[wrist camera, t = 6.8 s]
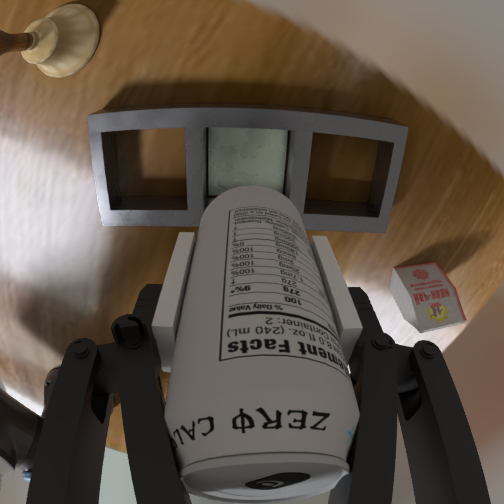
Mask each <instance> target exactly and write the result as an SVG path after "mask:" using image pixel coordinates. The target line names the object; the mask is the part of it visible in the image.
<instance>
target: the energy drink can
mask: <svg viewBox="0 0 504 504" xmlns="http://www.w3.org/2000/svg"><path fill="white" fill-rule="evenodd" d="M359 416H360V412H359V409H358V405H357V401H356V397H355V393H354V389H353V386H352V382H351V378H350V374H349V371H348V367H347V363H346V360H345V356H344V353H343V349H342V346H341V342H340V339H339V335H338V332H337V329H336V325H335V322H334V318H333V315H332V312H331V309H330V305H329V302H328V299H327V295H326V292H325V289H324V286H323V283H322V280H321V276H320V273H319V270H318V267H317V264H316V261H315V258H314V255H313V252H312V249H311V246H310V243H309V240H308V237H307V234H306V231H305V228H304V225H303V222H302V219H301V216H300V214H299V212H298V210H297V208H296V207H295V205H294V204H293V203H292V202H291V201H290V200H289V199H288V198H287V197H286V196H284V195H283V194H282V193H280V192H278V191H276V190H274V189H271V188H268V187H264V186H257V185H247V186H239V187H236V188H233V189H229V190H228V191H226V192H224V193H222V194H220V195H219V196H218V197H216V198H215V199H214V200H213V201H212V202H211V203H210V204H209V206H208V207H207V208H206V210H205V212H204V214H203V216H202V219H201V223H200V227H199V232H198V236H197V240H196V245H195V249H194V254H193V258H192V263H191V268H190V272H189V277H188V282H187V287H186V292H185V296H184V301H183V306H182V311H181V317H180V322H179V327H178V332H177V338H176V343H175V349H174V354H173V360H172V366H171V372H170V378H169V384H168V390H167V396H166V402H165V409H164V419H165V424H166V427H167V431H168V435H169V438H170V442H171V445H172V448H173V452H174V455H175V458H176V461H177V464H178V466H179V469H180V472H179V478H180V480H182V482H183V484H184V486H185V488H186V490H187V492H188V493H190V494H193V495H196V496H198V497H202V498H206V499H210V500H215V501H221V502H230V503H243V504H263V503H277V502H284V501H292V500H297V499H303V498H307V497H311V496H315V495H318V494H321V493H324V492H327V491H329V490H331V489H333V488H334V487H335V486H336V484H337V483H338V481H339V480H340V479H341V478H342V477H343V476H344V475H346V474H349V473H350V468H349V465H348V464H347V459H348V455H349V452H350V450H351V447H352V443H353V440H354V436H355V433H356V429H357V425H358V421H359Z"/></svg>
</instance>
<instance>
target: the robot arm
mask: <svg viewBox="0 0 504 504" xmlns="http://www.w3.org/2000/svg"><path fill="white" fill-rule="evenodd" d="M194 249H195V238H194V232H179V235H178V238H177V242H176V245H175V248H174V251H173V254H172V257H171V260H170V264H169V267H168V270H167V274H166V277H165V280H164V284H147V285H146V286H145V287H144V288H143V289H142V290H141V291H140V293H139V296H138V299H137V302H136V305H135V307H134V310H133V313H132V314H126V315H123V316H120V317H119V318H117V319H116V320H115V321H114V322H113V324H112V327H111V331H112V334H113V337H114V339H115V342H113V343H110V344H104V345H98V346H96V344H95V342H94V341H92V340H91V339H87V338H82V339H78V340H75V341H73V342H72V343H71V344H70V345H69V346H68V348H67V350H66V353H65V355H64V358H63V361H62V364H61V367H60V369H53V370H51V371H50V372H49V373H48V375H47V378H46V380H45V384H44V409H43V412H42V415H41V416H39V415H37V414H36V413H34V412H33V411H31V410H30V409H28V408H27V407H25V406H24V405H23V404H21V403H20V402H18V401H17V400H15V399H14V398H13V397H11V396H10V395H9V394H7V393H6V392H4V391H3V390H2V388H0V489H1V485H2V481H3V477H5V476H7V475H10V474H13V473H14V470H15V466H16V467H17V468H19V469H21V470H23V472H22V475H23V479H24V480H26V481H28V482H30V484H29V489H28V495H27V501H26V504H98V503H99V491H100V483H101V474H102V466H103V458H104V452H105V445H106V438H107V432H108V426H109V420H110V416H111V414H112V412H113V408H114V404H115V400H114V393H115V392H120V401H121V410H122V419H123V426H124V434H125V441H126V447H127V454H128V459H129V465H130V471H131V476H132V481H133V486H134V491H135V496H136V501H137V504H192V503H191V500H190V496H189V493H188V492H187V490H186V488H185V486H184V484H183V482H182V480H180V478H179V472H180V469H179V466H178V464H177V461H176V458H175V455H174V452H173V448H172V445H171V442H170V438H169V435H168V431H167V427H166V424H165V419H164V409H165V398H164V393H163V388H162V383H161V378H160V375H159V372H160V367H162V371H163V372H171V366H172V360H173V354H174V349H175V343H176V338H177V332H178V327H179V322H180V317H181V311H182V306H183V301H184V296H185V292H186V287H187V282H188V277H189V272H190V268H191V263H192V258H193V254H194ZM311 249H312V252H313V255H314V258H315V261H316V264H317V267H318V270H319V273H320V276H321V280H322V283H323V286H324V289H325V292H326V295H327V299H328V302H329V305H330V309H331V312H332V315H333V318H334V322H335V325H336V329H337V332H338V335H339V339H340V342H341V346H342V349H343V353H344V356H345V360H346V363H347V366H348V364H349V368H350V372H351V373H350V378H351V382H352V386H353V389H354V393H355V397H356V401H357V405H358V409H359V412H360V416H359V421H358V425H357V429H356V433H355V436H354V440H353V443H352V447H351V450H350V452H349V455H348V459H347V464H348V465H349V468H350V473H349V474H346V475H344V476H343V477H342V478H341V479H340V480H339V481H338V483H337V484H336V486H335V487H334V488H333V489H331V491H330V496H329V501H328V504H391V501H392V493H393V482H394V472H395V458H396V439H397V413H398V417H399V422H400V426H401V430H402V434H403V439H404V443H405V448H406V453H407V457H408V463H409V467H410V473H411V477H412V483H413V488H414V495H415V501H416V504H491V502H490V498H489V494H488V490H487V485H486V481H485V477H484V473H483V469H482V466H481V462H480V459H479V455H478V452H477V448H476V446H475V442H474V439H473V436H472V433H471V429H470V426H469V423H468V421H467V418H466V415H465V412H464V409H463V406H462V403H461V401H460V398H459V396H458V393H457V390H456V388H455V385H454V382H453V380H452V377H451V375H450V372H449V370H448V367H447V365H446V362H445V360H444V358H443V355H442V353H441V351H440V349H439V348H438V346H436V345H435V344H434V343H432V342H430V341H426V340H422V341H418V342H417V343H416V344H415V345H414V347H407V346H402V345H398V344H395V341H394V340H393V339H392V337H391V336H389V335H388V334H386V333H383V331H382V328H381V326H380V323H379V321H378V319H377V316H376V314H375V312H374V310H373V307H372V305H371V304H370V300H369V298H368V296H367V294H366V293H365V292H364V291H363V290H362V289H361V288H360V287H347V285H346V283H345V280H344V278H343V275H342V273H341V270H340V268H339V265H338V263H337V260H336V258H335V256H334V253H333V251H332V248H331V246H330V244H329V241H328V239H327V237H326V236H312V240H311Z"/></svg>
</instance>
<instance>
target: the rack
mask: <svg viewBox="0 0 504 504" xmlns="http://www.w3.org/2000/svg"><path fill="white" fill-rule="evenodd" d="M88 127H89V138H90V148H91V156H92V165H93V172H94V180H95V186H96V193H97V199H98V205H99V211H100V217H101V222H102V226H182V227H200V223H201V219H202V216H203V214H204V212H205V210H206V208H207V207H208V206H209V204H210V203H211V202H212V201H213V200H214V199H215V198H216V197H218V196H207V127H209V149H208V171H209V195H220V194H222V193H224V192H226V191H228V190H229V189H233V188H236V187H239V186H247V185H257V186H264V187H268V188H271V189H274V190H276V191H278V192H280V193H282V194H283V183H284V172H285V161H286V149H287V138H288V130H290V135H289V146H288V158H287V169H286V179H285V190H284V196H286V197H287V198H288V199H289V200H290V201H291V202H292V203H293V204H294V205H295V207H296V208H297V210H298V212H299V214H300V216H301V219H302V222H303V225H304V228H305V230H326V231H349V232H371V233H386V229H387V225H388V221H389V218H390V214H391V210H392V205H393V201H394V197H395V193H396V189H397V184H398V180H399V175H400V170H401V165H402V160H403V155H404V150H405V145H406V139H407V134H408V128H409V127H407V126H405V125H403V124H401V123H399V122H397V121H395V120H391V119H385V118H380V117H374V116H368V115H361V114H355V113H348V112H340V111H333V110H324V109H315V108H305V107H294V106H281V105H264V104H240V103H183V104H159V105H143V106H130V107H119V108H109V109H102V110H99V111H97V112H94V113H92V114H90V115H88ZM154 128H185V137H186V178H187V196H121V191H120V182H119V174H118V164H117V154H116V142H115V131H121V130H135V129H154ZM313 132H316V133H326V134H336V135H344V136H353V137H360V138H368V139H375V140H379V146H378V152H377V158H376V163H375V169H374V174H373V179H372V184H371V190H370V194H369V199H368V203H356V202H341V201H325V200H308V199H305V196H306V188H307V180H308V172H309V163H310V155H311V146H312V136H313Z"/></svg>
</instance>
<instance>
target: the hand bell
mask: <svg viewBox="0 0 504 504" xmlns="http://www.w3.org/2000/svg"><path fill="white" fill-rule="evenodd" d="M98 41H99V23H98V20H97V17H96V16H95V14H94V13H93V12H92V10H90V9H89V8H88V7H86V6H84V5H81V4H67V5H63V6H61V7H59V8H57V9H55V10H54V11H52V12H51V13H50V14H48V15H47V16H46V17H45V18H41V19H38V20H36V21H34V22H33V23H31V24H30V25H29V26H28V27H27V29H26V30H25V32H24V33H18V34H8V33H6V32H4V31H1V30H0V56H1V55H2V54H4V53H6V52H13V51H21V54H22V56H23V58H24V59H25V60H26V61H27V62H29V63H33V64H37V66H38V68H39V69H40V70H41V71H42V72H43V73H45V74H46V75H48V76H51V77H56V78H62V77H67V76H70V75H72V74H74V73H76V72H78V71H79V70H80V69H82V68H83V67H84V66H85V65H86V64H87V63H88V61H89V60H90V59H91V57H92V56H93V54H94V52H95V50H96V47H97V44H98Z"/></svg>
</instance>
